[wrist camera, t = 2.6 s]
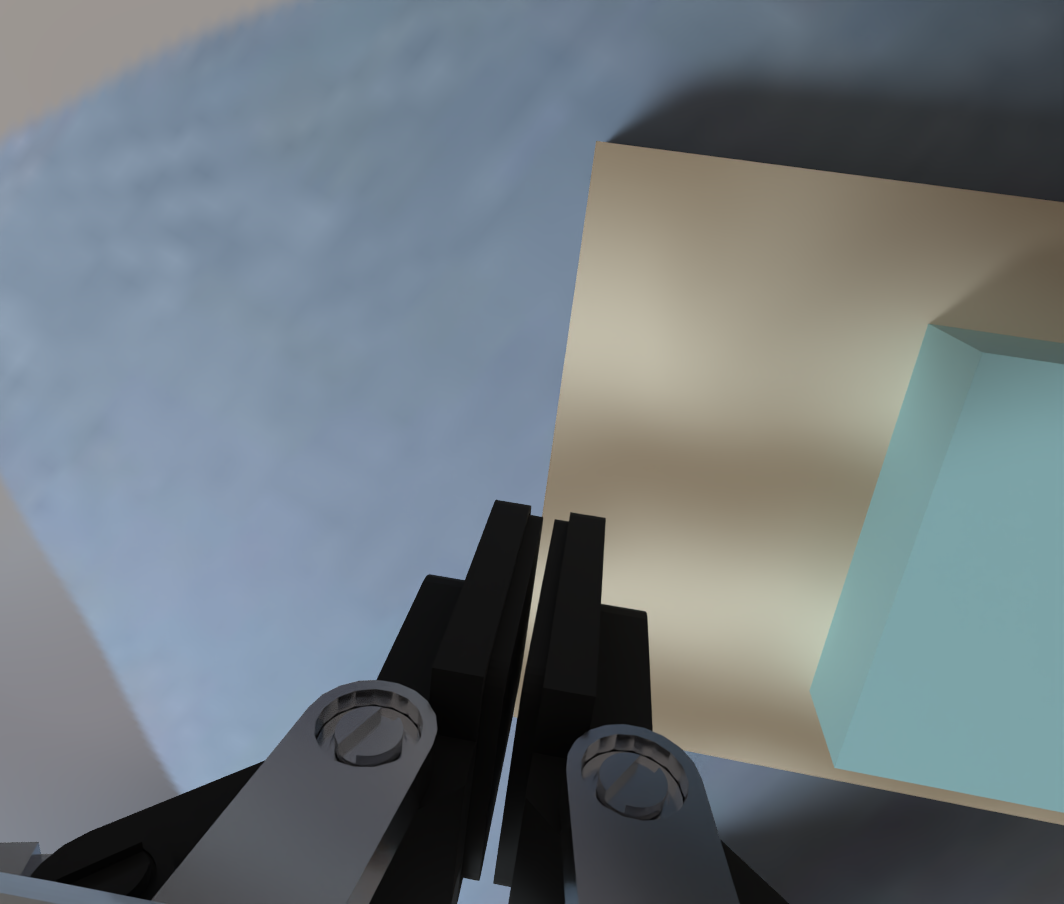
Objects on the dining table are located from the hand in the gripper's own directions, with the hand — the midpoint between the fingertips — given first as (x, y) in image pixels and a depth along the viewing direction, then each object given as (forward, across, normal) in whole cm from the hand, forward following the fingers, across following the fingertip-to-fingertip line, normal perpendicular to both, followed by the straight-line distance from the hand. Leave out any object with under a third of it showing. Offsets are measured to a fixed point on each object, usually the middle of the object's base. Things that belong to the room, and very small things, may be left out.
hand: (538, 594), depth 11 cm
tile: (+4, -10, +1) cm, 11 cm away
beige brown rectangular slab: (+8, -9, +1) cm, 12 cm away
